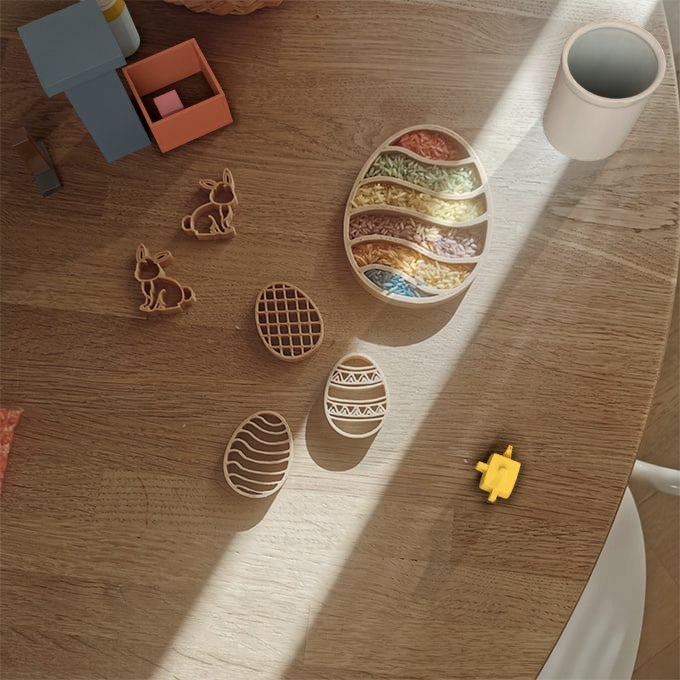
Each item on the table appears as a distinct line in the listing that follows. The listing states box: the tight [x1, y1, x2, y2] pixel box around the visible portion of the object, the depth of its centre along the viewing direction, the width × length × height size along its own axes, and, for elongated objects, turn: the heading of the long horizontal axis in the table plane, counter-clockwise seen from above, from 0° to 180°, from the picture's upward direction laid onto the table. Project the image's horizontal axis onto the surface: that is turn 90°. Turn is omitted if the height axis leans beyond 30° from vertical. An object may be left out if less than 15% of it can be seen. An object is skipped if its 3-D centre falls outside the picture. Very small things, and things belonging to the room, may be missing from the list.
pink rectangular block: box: [153, 89, 185, 119], centre depth 126 cm, size 4×4×4 cm
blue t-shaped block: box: [16, 0, 152, 164], centre depth 116 cm, size 12×12×24 cm
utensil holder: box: [542, 18, 667, 162], centre depth 115 cm, size 15×15×18 cm
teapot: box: [474, 444, 521, 503], centre depth 102 cm, size 8×6×5 cm
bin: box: [121, 37, 234, 154], centre depth 124 cm, size 13×13×8 cm
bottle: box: [79, 0, 141, 59], centre depth 127 cm, size 7×7×15 cm
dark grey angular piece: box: [6, 126, 64, 198], centre depth 120 cm, size 4×10×11 cm, turn 26°
